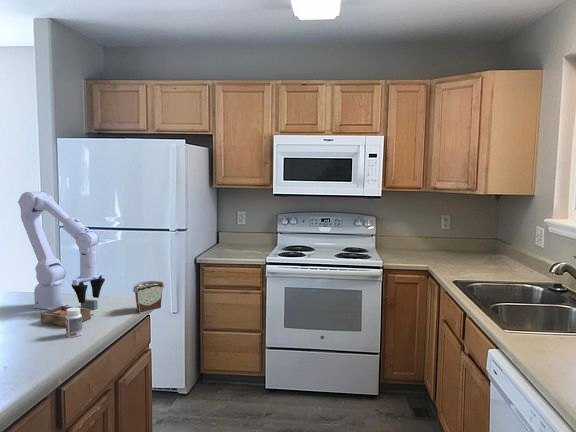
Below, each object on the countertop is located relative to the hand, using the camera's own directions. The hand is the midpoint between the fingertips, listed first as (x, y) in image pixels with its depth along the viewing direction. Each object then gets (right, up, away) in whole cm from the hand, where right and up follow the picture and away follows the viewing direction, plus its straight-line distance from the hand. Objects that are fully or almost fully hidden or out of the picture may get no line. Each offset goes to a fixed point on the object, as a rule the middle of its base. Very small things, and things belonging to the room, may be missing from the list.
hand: (89, 300), depth 179 cm
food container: (+20, -4, +3) cm, 21 cm away
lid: (0, -4, 0) cm, 4 cm away
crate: (-2, -5, -14) cm, 15 cm away
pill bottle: (+6, -7, -27) cm, 28 cm away
